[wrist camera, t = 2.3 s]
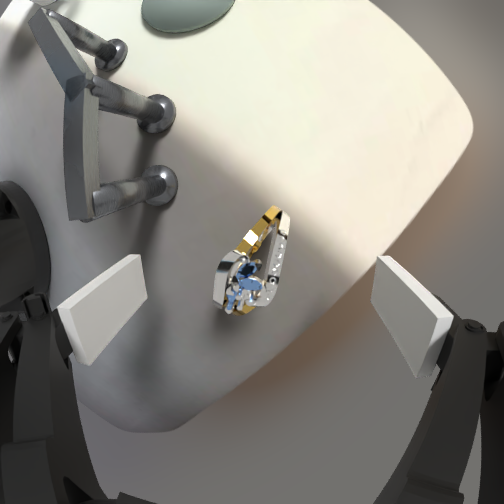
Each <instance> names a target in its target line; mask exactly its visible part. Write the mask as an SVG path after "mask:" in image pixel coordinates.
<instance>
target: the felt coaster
mask: <svg viewBox="0 0 504 504" xmlns="http://www.w3.org/2000/svg"><path fill="white" fill-rule="evenodd" d="M234 1H235V0H143V2H142V7H141V10H142V15H143V17H144V19H145V20H146V21H147V23H148V24H149V25H150V26H152V27H153V28H155V29H157V30H160V31H163V32H170V33H179V32H187V31H191V30H195V29H198V28H201V27H204V26H206V25H208V24H210V23H212V22H214V21H215V20H217V19H219V18H220V17H221V16H223V15H224V14H225V13H226V12H227V11H228V10H229V9H230V8H231V6H232V5H233V3H234Z"/></svg>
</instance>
